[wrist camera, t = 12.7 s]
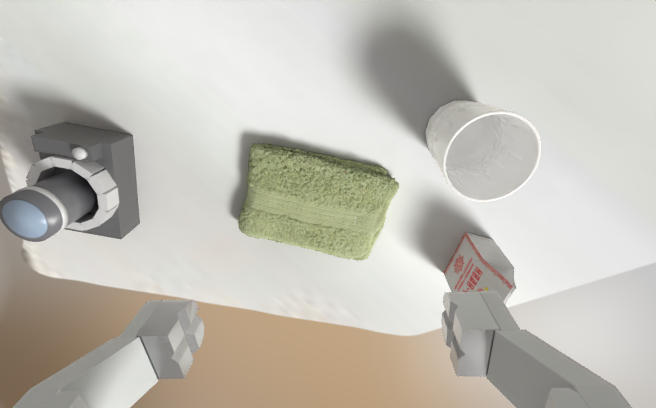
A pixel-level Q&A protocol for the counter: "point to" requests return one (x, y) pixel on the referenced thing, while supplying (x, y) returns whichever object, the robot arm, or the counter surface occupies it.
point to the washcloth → (315, 201)
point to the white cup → (482, 149)
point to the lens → (47, 206)
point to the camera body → (92, 173)
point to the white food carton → (480, 268)
